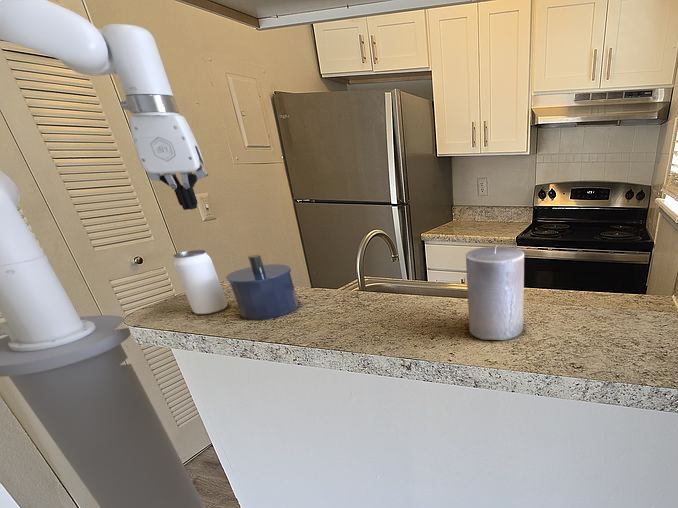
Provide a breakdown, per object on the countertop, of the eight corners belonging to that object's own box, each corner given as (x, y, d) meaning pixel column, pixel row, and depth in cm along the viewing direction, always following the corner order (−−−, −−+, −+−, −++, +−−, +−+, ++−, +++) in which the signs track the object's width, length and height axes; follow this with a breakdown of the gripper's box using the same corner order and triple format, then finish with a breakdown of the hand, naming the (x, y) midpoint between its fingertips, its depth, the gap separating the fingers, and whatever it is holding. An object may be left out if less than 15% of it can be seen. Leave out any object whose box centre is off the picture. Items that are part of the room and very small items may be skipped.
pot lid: (219, 289, 76) (211, 266, 74) (237, 272, 86) (230, 251, 84) (285, 283, 78) (279, 260, 76) (296, 267, 88) (290, 246, 86)
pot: (234, 322, 80) (221, 285, 76) (249, 303, 89) (238, 270, 85) (293, 316, 82) (283, 280, 78) (301, 297, 91) (293, 265, 87)
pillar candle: (499, 314, 78) (499, 236, 71) (534, 331, 71) (537, 245, 64) (458, 328, 73) (453, 245, 66) (491, 347, 67) (489, 256, 59)
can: (231, 302, 90) (212, 248, 84) (223, 312, 84) (202, 255, 79) (198, 306, 88) (177, 251, 83) (189, 316, 83) (165, 258, 77)
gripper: (98, 107, 73) (142, 214, 82) (189, 105, 76) (223, 208, 84) (120, 110, 79) (159, 208, 88) (204, 108, 82) (233, 204, 91)
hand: (190, 208), depth 86 cm, fingers closed
